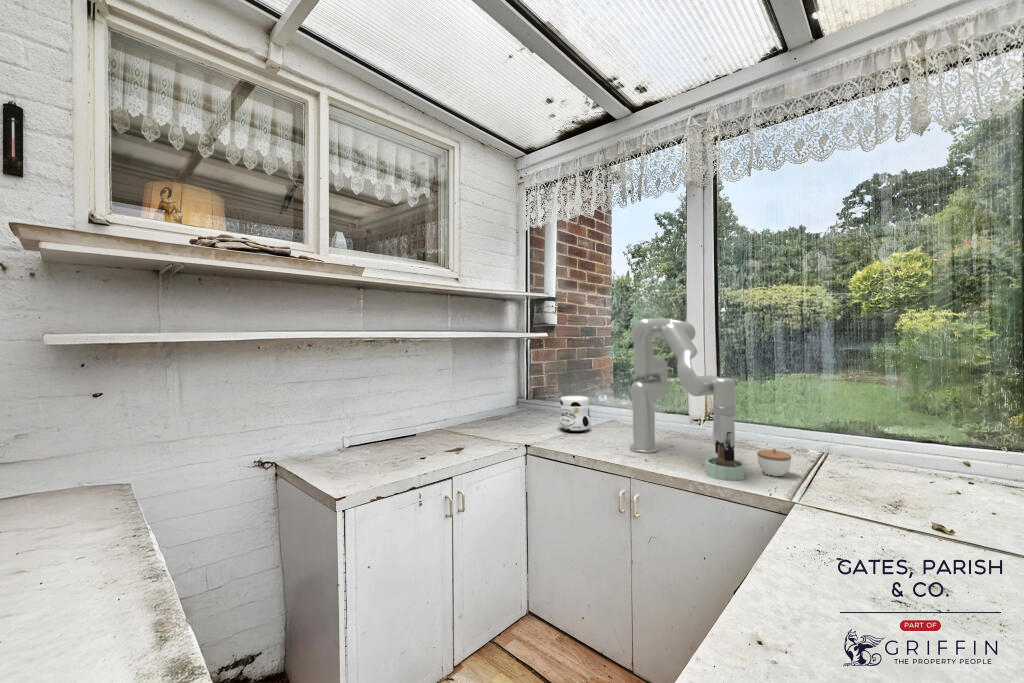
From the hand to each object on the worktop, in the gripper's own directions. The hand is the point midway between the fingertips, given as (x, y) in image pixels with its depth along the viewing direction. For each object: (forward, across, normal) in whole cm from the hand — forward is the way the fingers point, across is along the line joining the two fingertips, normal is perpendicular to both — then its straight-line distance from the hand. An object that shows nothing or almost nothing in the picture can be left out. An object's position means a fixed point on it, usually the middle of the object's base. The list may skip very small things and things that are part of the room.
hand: (724, 456), depth 159 cm
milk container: (+7, -68, -55) cm, 88 cm away
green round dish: (+7, 0, 0) cm, 7 cm away
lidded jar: (+7, -2, +18) cm, 19 cm away
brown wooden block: (+6, 0, 0) cm, 6 cm away
